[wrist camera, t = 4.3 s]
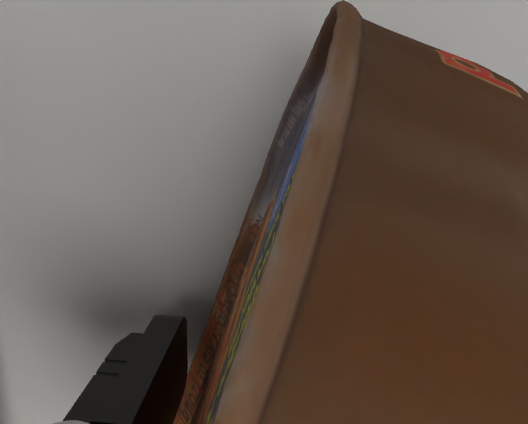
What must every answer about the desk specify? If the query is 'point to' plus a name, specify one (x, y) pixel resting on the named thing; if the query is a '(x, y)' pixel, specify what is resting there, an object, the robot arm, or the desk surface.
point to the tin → (378, 248)
